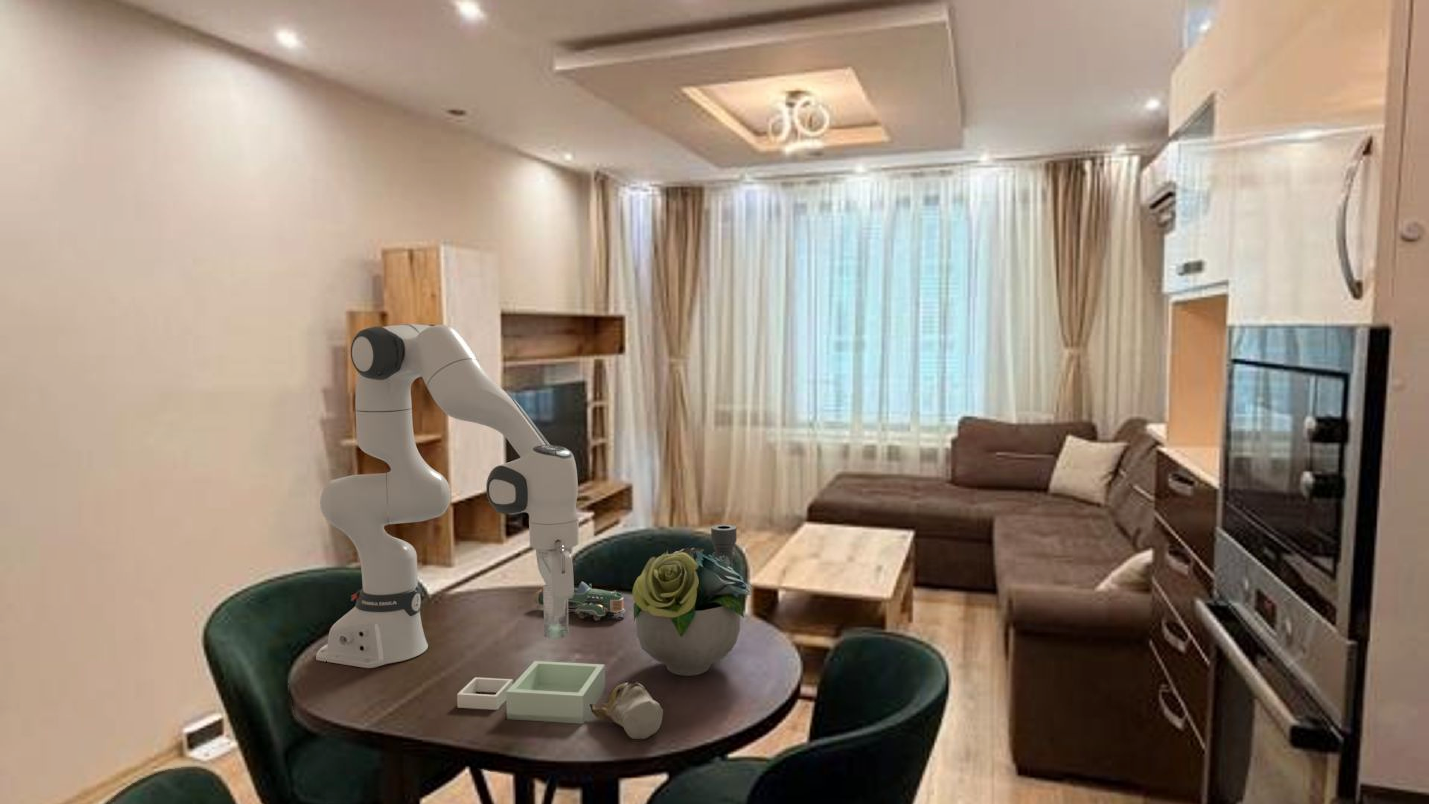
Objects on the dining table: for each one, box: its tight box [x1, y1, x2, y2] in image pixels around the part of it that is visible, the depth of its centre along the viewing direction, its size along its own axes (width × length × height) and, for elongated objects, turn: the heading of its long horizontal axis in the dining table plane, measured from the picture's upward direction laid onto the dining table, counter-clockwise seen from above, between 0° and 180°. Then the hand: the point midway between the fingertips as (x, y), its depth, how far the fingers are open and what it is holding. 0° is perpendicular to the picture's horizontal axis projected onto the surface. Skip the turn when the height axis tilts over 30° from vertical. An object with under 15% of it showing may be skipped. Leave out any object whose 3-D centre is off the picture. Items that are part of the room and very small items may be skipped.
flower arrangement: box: [632, 547, 753, 677], centre depth 165 cm, size 25×25×24 cm
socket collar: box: [456, 677, 514, 711], centre depth 153 cm, size 8×8×2 cm
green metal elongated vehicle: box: [533, 581, 627, 622], centre depth 201 cm, size 10×25×8 cm, turn 71°
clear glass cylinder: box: [542, 584, 570, 640], centre depth 149 cm, size 4×4×9 cm
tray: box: [505, 660, 606, 725], centre depth 150 cm, size 14×14×5 cm
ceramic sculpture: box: [590, 679, 664, 740], centre depth 142 cm, size 11×9×15 cm
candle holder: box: [710, 524, 739, 598], centre depth 184 cm, size 6×6×25 cm
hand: (555, 609), depth 149 cm, fingers closed on clear glass cylinder, 4 cm apart
